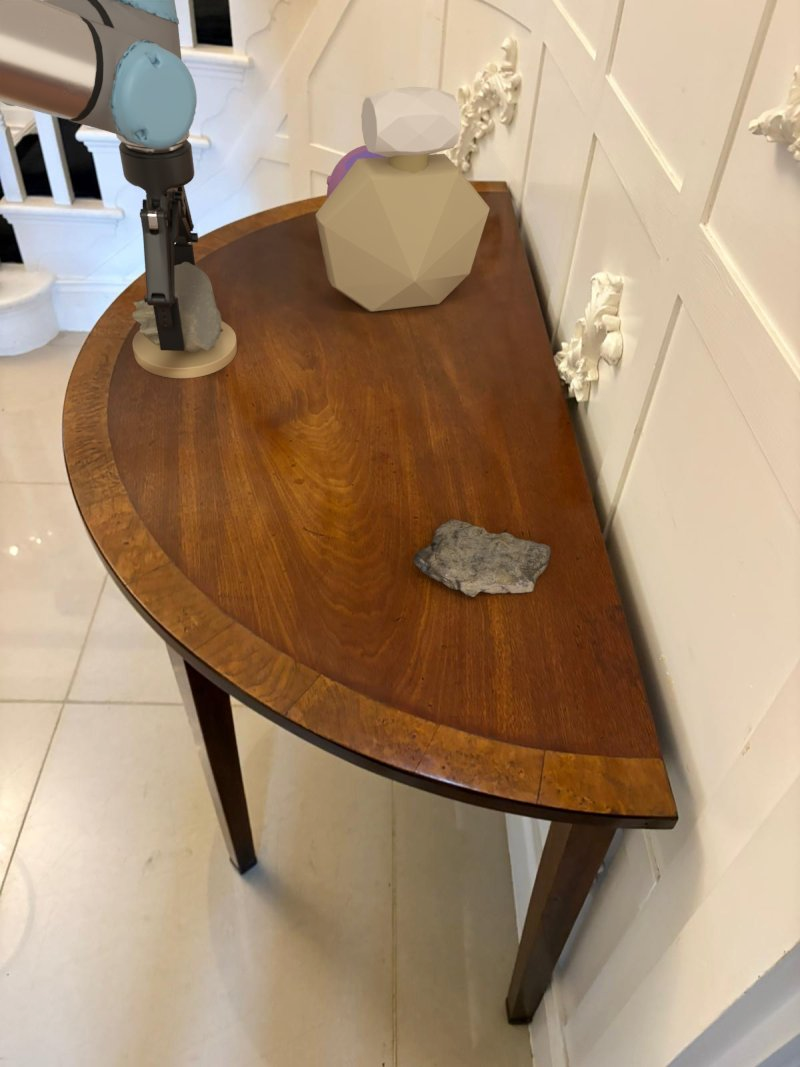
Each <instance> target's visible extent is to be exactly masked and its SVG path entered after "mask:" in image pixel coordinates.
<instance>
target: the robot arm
mask: <svg viewBox="0 0 800 1067" xmlns="http://www.w3.org/2000/svg"><path fill="white" fill-rule="evenodd" d="M179 25H180V20H179V18H178V13H177V7H176V0H0V103H2V104H4V105H6V106H8V107H9V106H10V107H18V108H23V109H27V110H30V111H34V112H38V113H41V114H45V115H49V116H51V117H56V118H60V119H64V120H67V121H69V122H72V123H76V124H79V125H83V126H86V127H89V128H90V127H91V128H93V129H98V130H101V131H105V132H108V133H112V134H114V135H115V136H116V138H117V139H118V140H119V141H120V143H119V145H118V151H119V155H120V162H121V165H122V166H121V167H122V173H123V176H124V179H125V180H126V181H127V183H129V184H130V185H132V186H134V187H137V188H140V189H142V191H145V198H143V199H142V208H140V211H139V218H140V222H141V229H142V240H143V241H142V242H143V256H144V257H143V258H144V272H145V285H146V286H145V287H146V295H143V299H144V301H145V302H147V304H148V305H150V306H153V308H154V313H155V319H156V325H157V331H158V337H159V343H160V349H161V350H170V351H184V348H185V346H184V339H183V332H182V325H181V318H180V311H179V304H178V298H176V297H175V269H174V266H175V265H180V264H182V263H183V262H189V263H190V264H192V265H195V266H196V262H195V253H194V245H193V244H190V243H196V244H197V243H199V234H198V232H194V228H195V226H194V223H193V217H192V214H191V211H190V205H189V201H188V198H187V197H188V196H187V193H186V189H185V188H186V187H185V186H186V185H188V184H189V183H191V181H193V179H194V177H195V166H194V165H195V164H194V157H193V149H192V148H193V147H192V144H191V142H189V140H188V139H189V137H190V130H191V128H192V125H193V123H194V120H195V115H196V108H197V102H198V99H197V98H198V97H197V88H196V84H195V81H194V78H193V75H192V74H191V71H190V70H189V68H188V67H187V65H186V64H185V62H184V61H183V60H182V50H181V41H180V30H179Z"/></svg>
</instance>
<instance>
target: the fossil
mask: <svg viewBox="0 0 800 1067" xmlns="http://www.w3.org/2000/svg"><path fill="white" fill-rule="evenodd" d="M174 269H175V297H176V298H178V304H179V311H180V318H181V325H182V332H183V339H184V346H185V348H184V349H185V350H187V351H189V352H197V351H199V350H201V349H202V350H203V349H204V350H207V351H209V350H210V349H211V348H214V346H215V342H216V340H217V339H218V338H220V334H221V332H222V331H223V329H222V328H221V322H222V321H223V320H222V315H221V312H220V310H219V309H218V307H217V301H216V299H215V294H214V289H213V285H212V282H211V279H210V278H209V276H208V275H207V273H206V272H205V271H204V270H202V269H201V268H200V267H199V266H197V265H196V264H195V265H192V264H190V263H189V262H183V263H182V264H180V265H175V266H174ZM132 303H133V305H134V307H135V310H134V311H133V312H132V315H131V316H132V318H133V320H134V321H136V322H137V323H138V324H140V326H139V330H140V332H141V333H142V334H143V335H144V336H145V337H146V338H148V339H149V340H150V341H151V342H152V343H154V344H156V345H160V343H159V337H158V331H157V325H156V319H155V313H154V308H153V306H150V305H148V304H147V302H145V301H144V298H143V299H140V300H137V301H133V302H132Z"/></svg>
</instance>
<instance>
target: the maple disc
mask: <svg viewBox="0 0 800 1067" xmlns="http://www.w3.org/2000/svg"><path fill="white" fill-rule="evenodd" d="M221 328H222V329H223V331H222V332H221V334H220V338H218V339H217V340H216V342H215V346H214V348H211V349H210V350H209V351H207V350H204V349H203V350H202V349H201V350H199V351H197V352H189V351H187V350H185V349H184V351H170V350H161V349H160V345H156V344H154V343H152V342H151V341H150V340H149V339H148V338H146V337H145V336H144V335H143V334H142V333H141V332H140V329H139V330H138V331H137V332H136V333H135V335H134V336H133V339H132V351H133V356H134V359H135V361H136V363H137V365H139V366H140V367H141V368H142V369H143V370H145V371H147V372H149V373H151V374H153V375H155V376H159V377H163V378H169V379H193V378H199V377H204V376H208V375H211V374H214V373H216V372H219V371H221V370H222V369H224V368H226V366H228V365H230V363H231V362H233V360H234V359H235V357H236V356H237V353H238V341H237V340H238V339H237V335H236V332H235V331H234V329H233V328H232V327H231V326H230V325H229V324H228V323H226V322H224V321H223V320H222V322H221Z"/></svg>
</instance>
